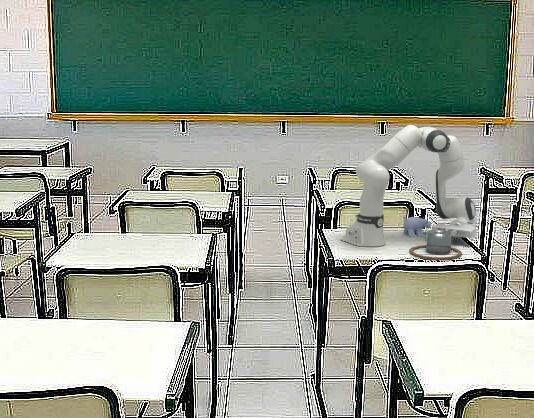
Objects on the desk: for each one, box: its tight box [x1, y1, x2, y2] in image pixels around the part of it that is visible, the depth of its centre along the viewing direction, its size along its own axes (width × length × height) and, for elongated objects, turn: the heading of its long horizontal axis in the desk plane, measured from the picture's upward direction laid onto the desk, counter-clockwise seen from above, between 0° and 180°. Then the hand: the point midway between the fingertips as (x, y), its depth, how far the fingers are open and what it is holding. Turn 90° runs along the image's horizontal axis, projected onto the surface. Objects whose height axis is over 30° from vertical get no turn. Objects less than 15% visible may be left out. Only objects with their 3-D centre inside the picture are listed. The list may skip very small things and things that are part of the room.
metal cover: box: [425, 229, 452, 256], centre depth 347 cm, size 11×11×10 cm
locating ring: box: [408, 244, 463, 261], centre depth 345 cm, size 23×23×1 cm
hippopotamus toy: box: [402, 216, 432, 238], centre depth 381 cm, size 11×15×10 cm
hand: (447, 234), depth 355 cm, fingers closed
